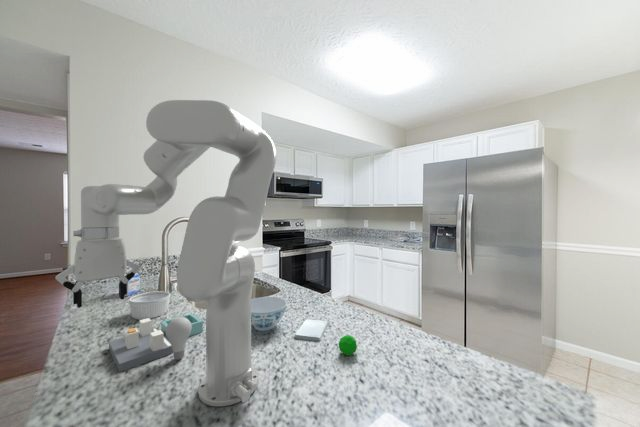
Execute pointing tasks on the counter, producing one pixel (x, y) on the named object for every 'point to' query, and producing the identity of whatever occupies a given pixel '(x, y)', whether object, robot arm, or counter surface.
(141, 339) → the breaker panel
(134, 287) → the medicine box
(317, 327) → the hard drive
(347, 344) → the polyhedron
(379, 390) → the counter surface
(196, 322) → the socket
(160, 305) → the ramekin
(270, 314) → the chinaware
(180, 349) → the lightbulb
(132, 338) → the block
